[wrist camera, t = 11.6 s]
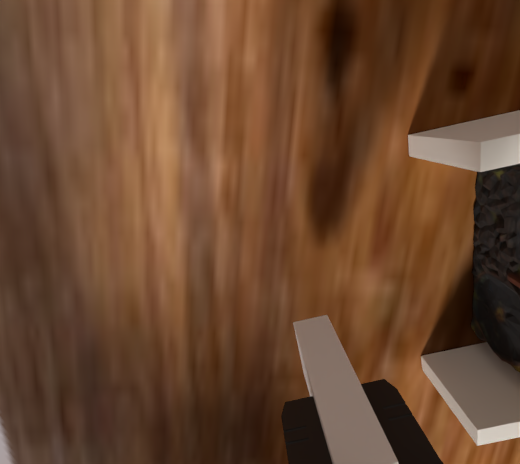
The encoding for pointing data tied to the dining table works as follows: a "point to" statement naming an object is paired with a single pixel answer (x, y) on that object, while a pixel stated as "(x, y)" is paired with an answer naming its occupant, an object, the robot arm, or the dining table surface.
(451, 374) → the frame
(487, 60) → the dining table surface
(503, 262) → the candle
